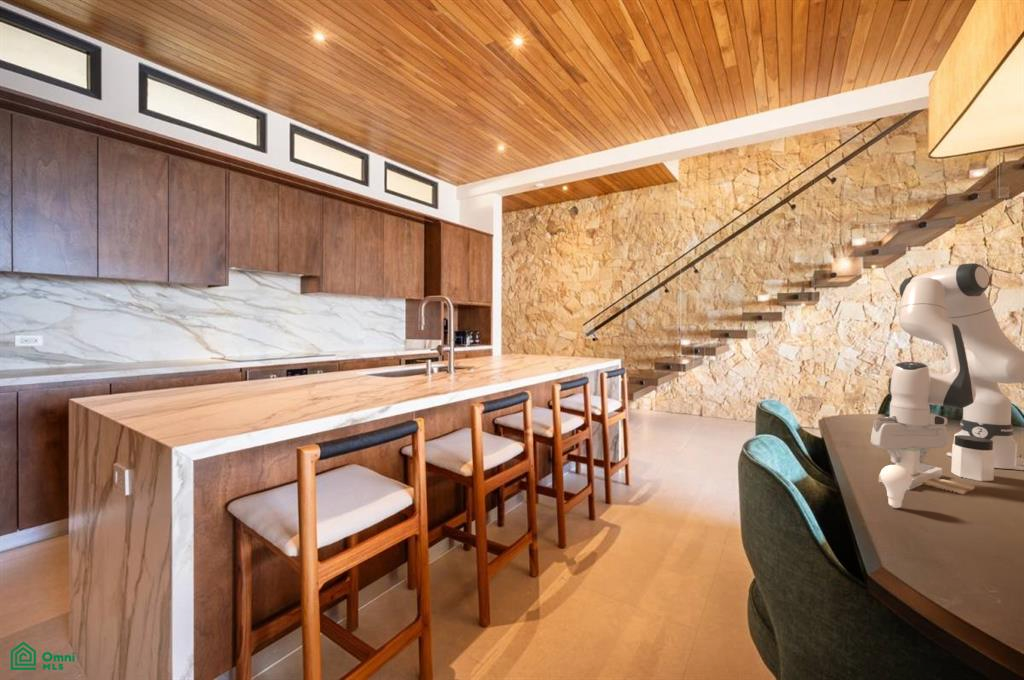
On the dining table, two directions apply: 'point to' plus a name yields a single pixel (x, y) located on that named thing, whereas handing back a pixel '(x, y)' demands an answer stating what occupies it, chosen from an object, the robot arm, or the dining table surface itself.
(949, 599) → the dining table surface
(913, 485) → the power strip
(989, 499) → the dining table surface
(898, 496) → the lightbulb
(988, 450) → the jar
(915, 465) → the block
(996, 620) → the dining table surface
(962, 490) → the coaster
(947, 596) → the dining table surface
